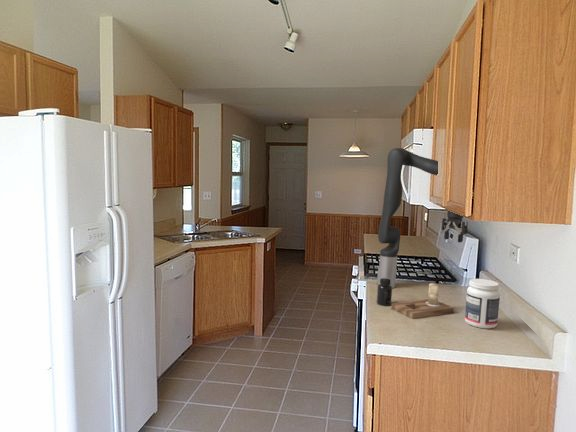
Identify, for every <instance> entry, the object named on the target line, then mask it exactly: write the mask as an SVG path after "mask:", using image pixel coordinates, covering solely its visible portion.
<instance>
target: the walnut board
mask: <svg viewBox="0 0 576 432" xmlns="http://www.w3.org/2000/svg"><path fill="white" fill-rule="evenodd" d="M391 310H393V311H395V312H397V313H399V314H402V315H403V316H405V317H408V318H409V319H410V320H411V319H413V320H414V319H421V318H427V317H434V316H440V315H446V314H447V315H449V314H453V313H454V310H455V309H454V307H453V306H451V305H448V304H446V303H445V302H441V301H439V300H438V305H430V304H428V298H427V299H417V300H409V301H400V302H391Z"/></svg>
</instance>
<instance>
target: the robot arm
mask: <svg viewBox="0 0 576 432" xmlns="http://www.w3.org/2000/svg"><path fill="white" fill-rule="evenodd" d="M438 161H439V160H435V159H433V158H427V157H423V156H422V155H421V156H420V155H418V154H415V153H413V152H411V151H409V150H407V149H405V148H403V147H399V148H397V147H395V148H393V149H392V148H391V150H390V151H389V153H388V155H387V165H386V166H387V168H386V169H387V172H386V173H387V174H386V179H385V180H386V181H385V185H384V186H385V188H384V193H383V194H384V195H383V205H382V212H381V218H380V222H379V225H378V232H377V238H378V242H379V243H381V244H388V245H387V246H386V247H383V248H381V250H380V251H379V265H378V268H377V277H376V278H377V279H376V285H377V286H378V285H379V284H380V279H381V278H387V279H390V280H391V281H390V283H391V284H390V285H391V286H392V289H394V288H396V281H397V280H396V279H397V278H396V277H397V265H398V253H399V251H400V241H401V231H400V228H399V227H398V226H396V225H395V226H394V225H393V226H390V223H391V219H392V218H393V216H394V215H395V214H396V213H397V211H398V209H400V206H401V205H402V198H403V185H402V170H403V166H407V167H412V168H416V169H418V170H421V171H423V172H425V173H427V174H430V175H434V176H437V174H438ZM446 211H447V213H446V218H445V217H444V218H442V223H441V230H442V231H443V233H444V236H443V237H444V240H449V239H450V231H451V229H454V230H455V231H456V232H457V233H458V236H457V243H463V240H464V235H467V234H468V221H463V219H464V216H460V215H458V214H455V213H453V212H450V211H448V210H446Z"/></svg>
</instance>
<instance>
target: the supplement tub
mask: <svg viewBox="0 0 576 432" xmlns="http://www.w3.org/2000/svg"><path fill="white" fill-rule="evenodd" d="M468 285H469V286H468V288H467V290H466V297H465V311H464V320H465V322H466V323H467V325H470V326H471V327H474V328H479V329H490V330H491V329H494V328H497V325H498V322H499V308H500V300H501V299H500V298H501V293H500V290H499V289H500V283H499V282H497V281H494V280H490V279H485V278H472V279H470V280H469V283H468Z"/></svg>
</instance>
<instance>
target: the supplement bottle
mask: <svg viewBox="0 0 576 432" xmlns="http://www.w3.org/2000/svg"><path fill="white" fill-rule="evenodd" d="M390 281H391V280H390V279H387V278H381V279H380V284H379V285H377V290H376V292H377V293H376V304H377V305H379V306H383V307H388V306H392V297H393V296H392V295H393V288H392V286H391V285H390V284H391V283H390Z"/></svg>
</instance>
